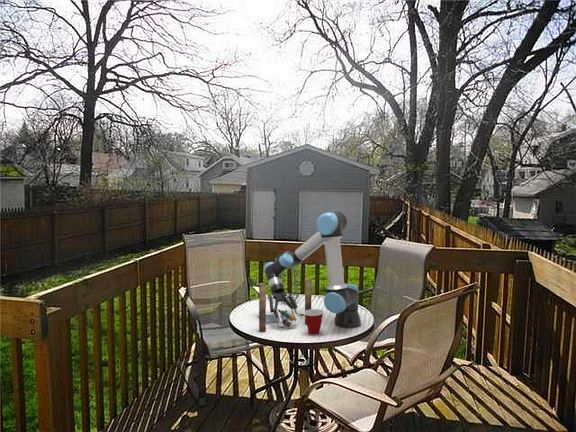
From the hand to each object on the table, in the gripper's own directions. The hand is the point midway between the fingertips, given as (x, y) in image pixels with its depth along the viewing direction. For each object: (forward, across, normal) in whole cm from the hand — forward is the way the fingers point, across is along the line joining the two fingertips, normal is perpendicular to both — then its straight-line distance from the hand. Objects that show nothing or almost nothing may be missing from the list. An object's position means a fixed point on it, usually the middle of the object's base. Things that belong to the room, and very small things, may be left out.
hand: (288, 321), depth 244 cm
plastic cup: (+11, -10, +5) cm, 16 cm away
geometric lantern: (-33, -24, -40) cm, 57 cm away
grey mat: (-12, 0, -18) cm, 22 cm away
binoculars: (0, 0, -5) cm, 5 cm away
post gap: (+1, 0, -6) cm, 6 cm away
